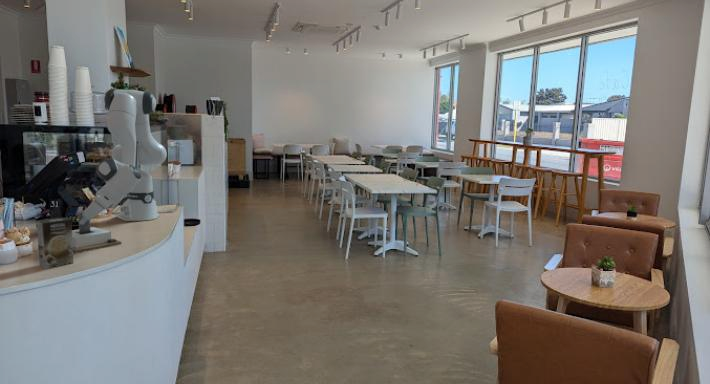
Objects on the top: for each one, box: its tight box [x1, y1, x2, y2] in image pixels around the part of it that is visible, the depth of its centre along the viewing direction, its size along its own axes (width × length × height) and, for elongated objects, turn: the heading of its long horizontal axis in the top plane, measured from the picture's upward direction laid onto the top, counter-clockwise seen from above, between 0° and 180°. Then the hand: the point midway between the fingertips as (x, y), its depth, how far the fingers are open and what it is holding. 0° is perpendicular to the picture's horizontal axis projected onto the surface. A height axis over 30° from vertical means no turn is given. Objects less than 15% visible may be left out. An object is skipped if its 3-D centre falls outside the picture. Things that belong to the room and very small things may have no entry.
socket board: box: [73, 238, 122, 254], centre depth 199 cm, size 22×18×2 cm
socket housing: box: [72, 226, 112, 248], centre depth 198 cm, size 14×14×4 cm
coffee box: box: [36, 217, 74, 269], centre depth 170 cm, size 9×6×16 cm
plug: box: [77, 209, 91, 234], centre depth 198 cm, size 4×4×10 cm
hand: (82, 222), depth 197 cm, fingers closed on plug, 4 cm apart
